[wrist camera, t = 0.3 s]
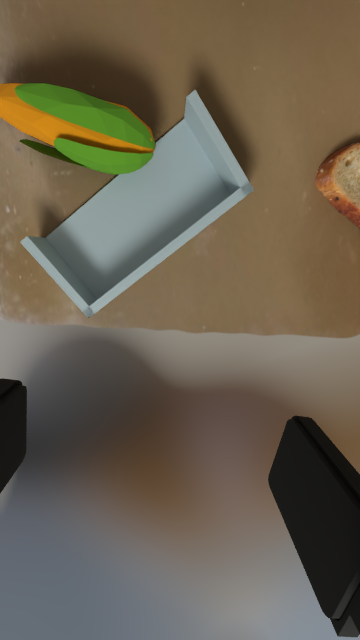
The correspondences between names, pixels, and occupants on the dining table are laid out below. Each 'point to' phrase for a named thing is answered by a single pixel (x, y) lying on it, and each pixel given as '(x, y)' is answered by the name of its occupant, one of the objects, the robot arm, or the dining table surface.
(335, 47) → the dining table surface
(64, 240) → the tray
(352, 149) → the slice of bread
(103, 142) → the corn
